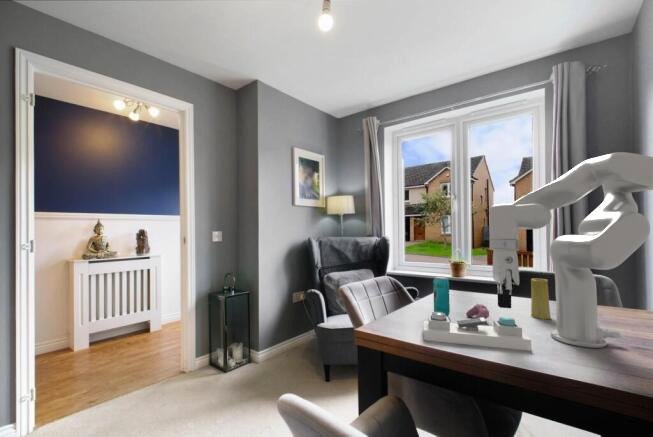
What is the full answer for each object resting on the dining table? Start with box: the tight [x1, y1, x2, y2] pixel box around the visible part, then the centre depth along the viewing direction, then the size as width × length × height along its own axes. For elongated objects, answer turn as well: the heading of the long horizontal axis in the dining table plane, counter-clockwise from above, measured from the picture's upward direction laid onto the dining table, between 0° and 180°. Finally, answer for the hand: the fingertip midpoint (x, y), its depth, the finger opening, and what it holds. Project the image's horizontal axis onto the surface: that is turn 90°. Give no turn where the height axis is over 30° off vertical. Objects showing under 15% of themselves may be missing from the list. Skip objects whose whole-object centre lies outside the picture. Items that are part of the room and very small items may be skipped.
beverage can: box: [432, 275, 451, 318], centre depth 115 cm, size 6×6×15 cm
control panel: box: [423, 314, 532, 352], centre depth 90 cm, size 28×10×6 cm, turn 73°
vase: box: [530, 277, 552, 320], centre depth 113 cm, size 6×6×14 cm
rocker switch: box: [456, 317, 489, 328], centre depth 90 cm, size 8×4×1 cm, turn 73°
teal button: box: [498, 316, 516, 327], centre depth 87 cm, size 4×4×2 cm
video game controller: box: [465, 303, 490, 320], centre depth 109 cm, size 10×5×7 cm, turn 169°
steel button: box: [431, 311, 445, 321], centre depth 93 cm, size 4×4×2 cm
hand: (504, 307), depth 87 cm, fingers closed
